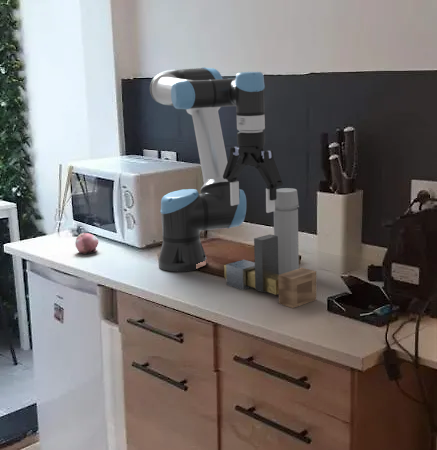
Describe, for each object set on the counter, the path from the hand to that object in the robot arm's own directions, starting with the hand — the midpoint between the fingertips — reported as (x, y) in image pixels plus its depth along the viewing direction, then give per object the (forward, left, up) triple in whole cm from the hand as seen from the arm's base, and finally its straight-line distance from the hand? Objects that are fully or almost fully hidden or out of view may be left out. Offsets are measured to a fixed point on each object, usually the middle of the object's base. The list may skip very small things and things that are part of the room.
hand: (252, 208), depth 197 cm
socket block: (+18, -1, -22) cm, 29 cm away
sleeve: (-3, -1, -22) cm, 23 cm away
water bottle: (-3, +16, -23) cm, 28 cm away
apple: (-68, -14, -23) cm, 73 cm away
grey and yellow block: (+1, -1, -21) cm, 21 cm away
